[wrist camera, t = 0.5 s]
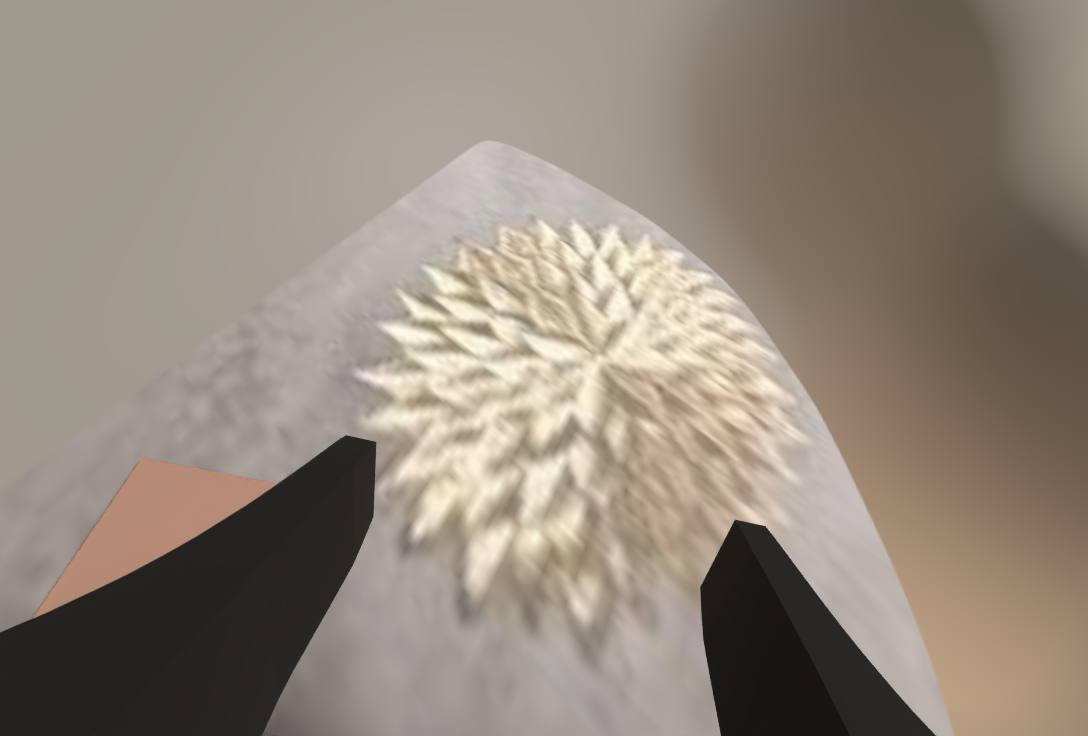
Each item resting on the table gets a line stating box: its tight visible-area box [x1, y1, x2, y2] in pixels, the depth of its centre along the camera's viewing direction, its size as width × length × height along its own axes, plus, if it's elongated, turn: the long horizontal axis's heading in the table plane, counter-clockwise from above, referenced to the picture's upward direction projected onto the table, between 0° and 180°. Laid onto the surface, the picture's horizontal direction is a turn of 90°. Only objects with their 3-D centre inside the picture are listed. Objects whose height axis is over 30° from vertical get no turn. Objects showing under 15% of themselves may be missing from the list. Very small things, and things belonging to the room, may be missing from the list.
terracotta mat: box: [34, 458, 277, 618], centre depth 24 cm, size 10×9×1 cm
